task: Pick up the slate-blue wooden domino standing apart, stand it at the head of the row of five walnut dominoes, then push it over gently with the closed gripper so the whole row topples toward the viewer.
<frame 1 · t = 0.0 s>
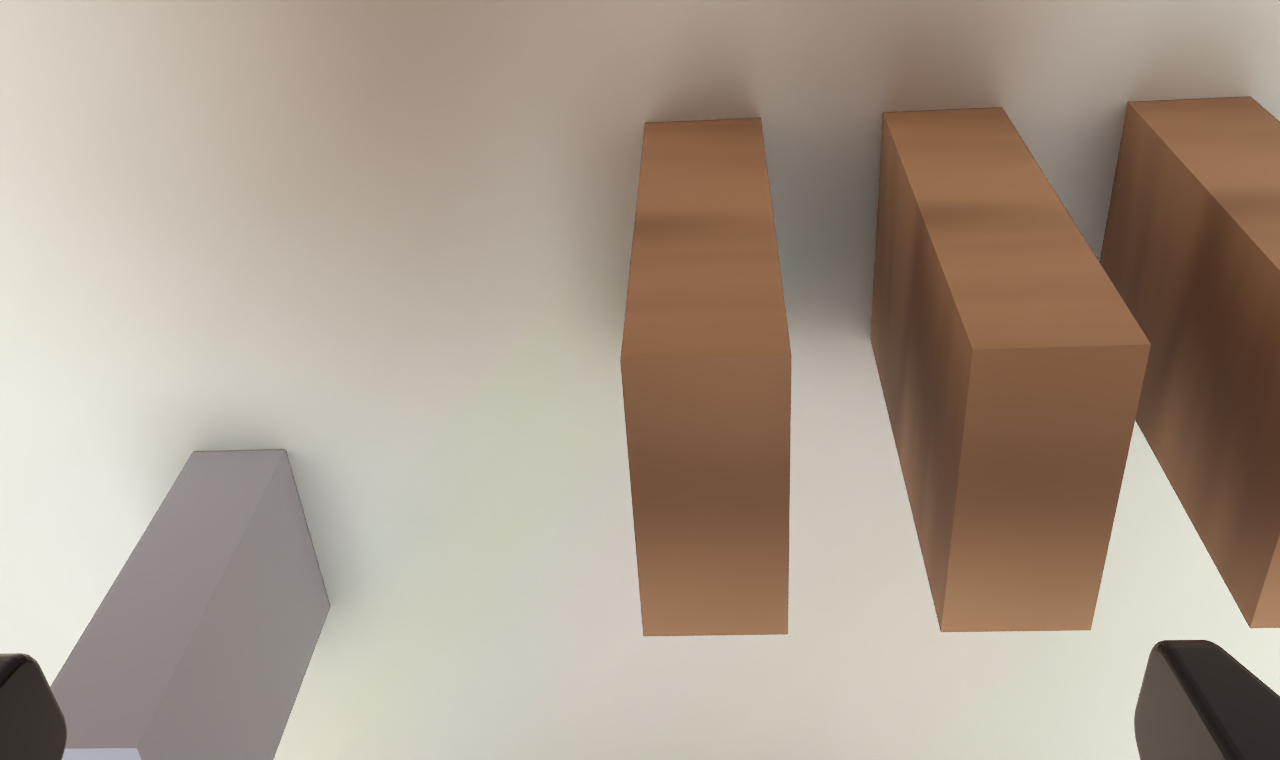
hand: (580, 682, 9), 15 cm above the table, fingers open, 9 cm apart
domino 2: (932, 230, 23), on the table
domino 3: (1163, 222, 23), on the table
slate domino: (264, 532, 28), on the table
domino 1: (706, 238, 23), on the table
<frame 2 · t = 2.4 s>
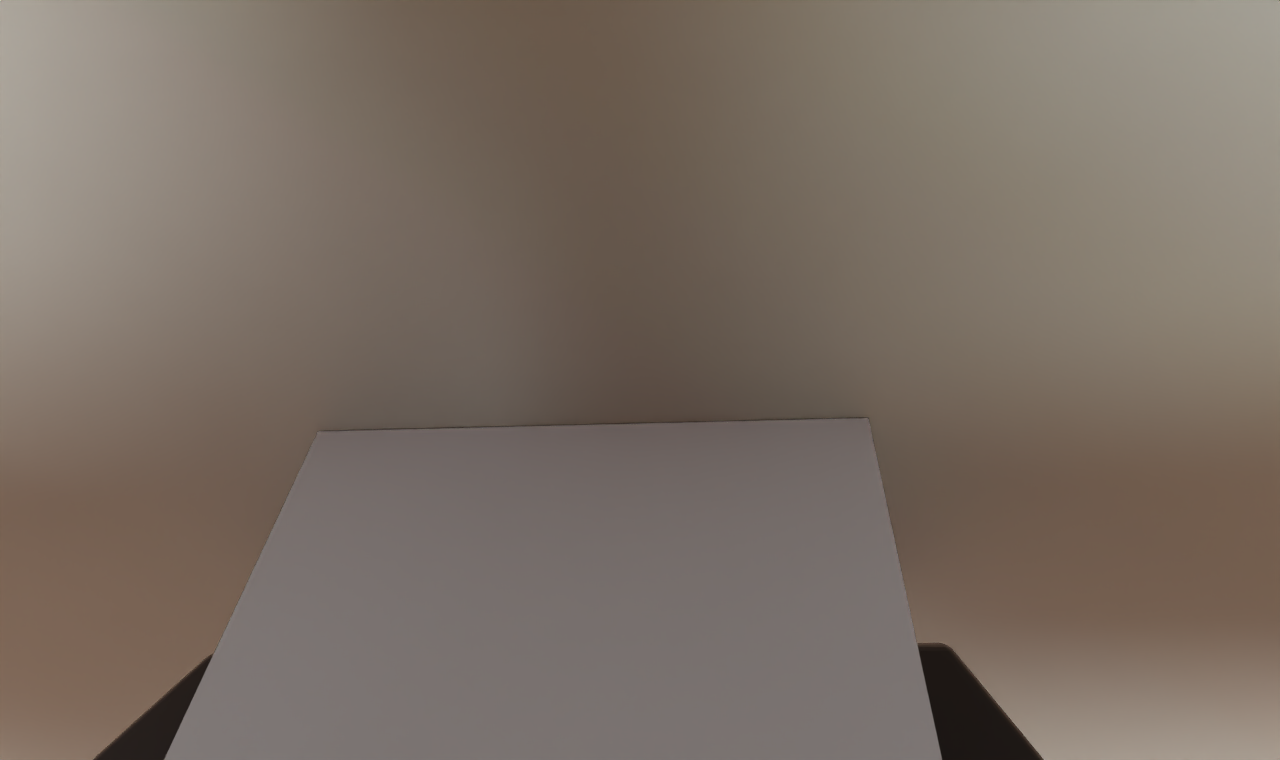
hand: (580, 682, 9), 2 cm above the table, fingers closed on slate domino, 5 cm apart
slate domino: (598, 518, 11), on the table, touching gripper
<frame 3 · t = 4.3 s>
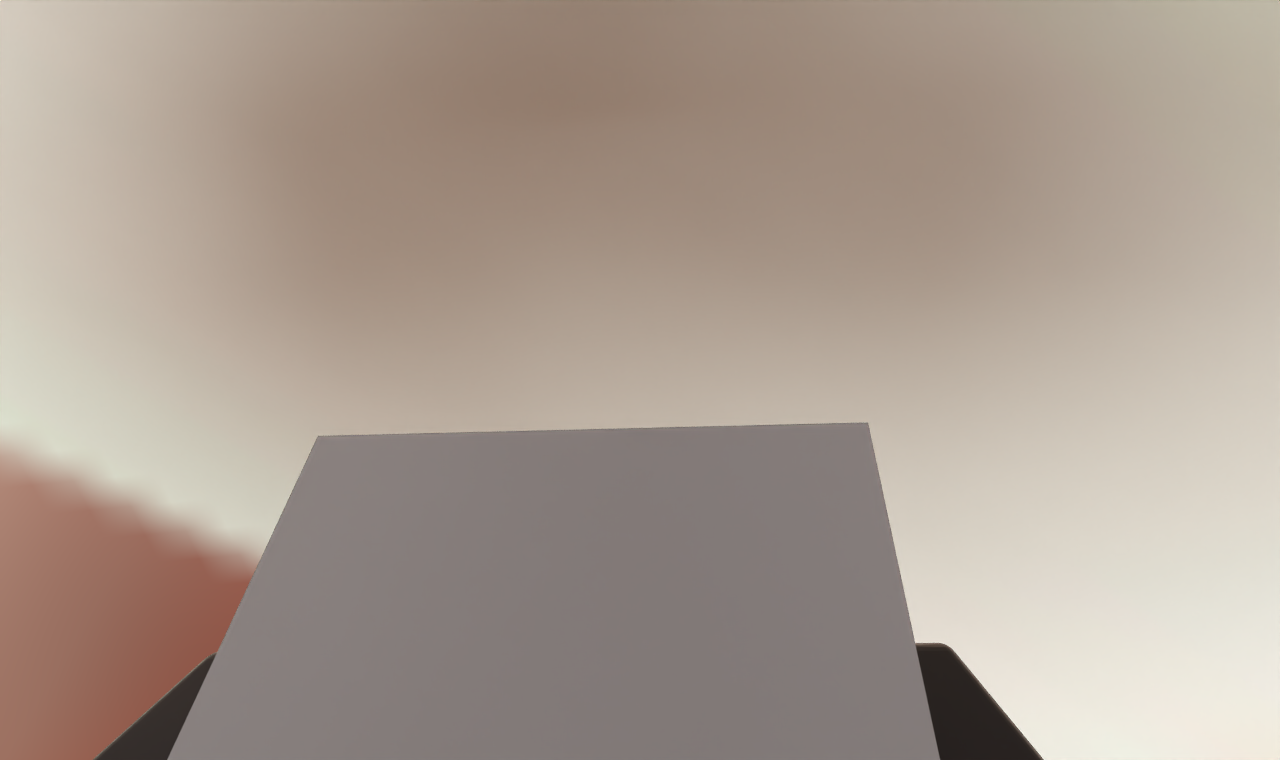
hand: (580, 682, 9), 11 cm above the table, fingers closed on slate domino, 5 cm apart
slate domino: (598, 522, 11), point 9 cm above the table, touching gripper
when the fingers open (2 cm above the table, at t = 6.2 s): slate domino stays where it is, on the table.
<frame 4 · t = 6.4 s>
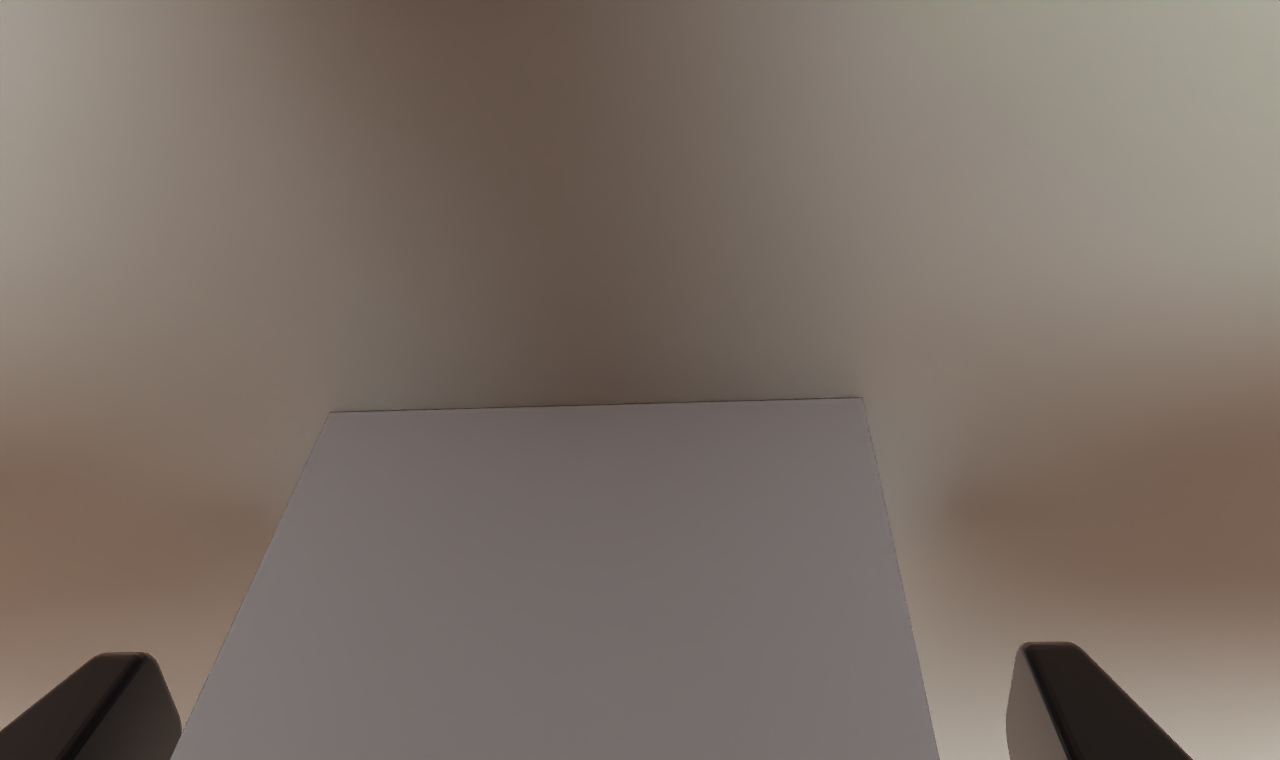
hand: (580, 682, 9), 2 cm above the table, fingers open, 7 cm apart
slate domino: (601, 497, 11), on the table
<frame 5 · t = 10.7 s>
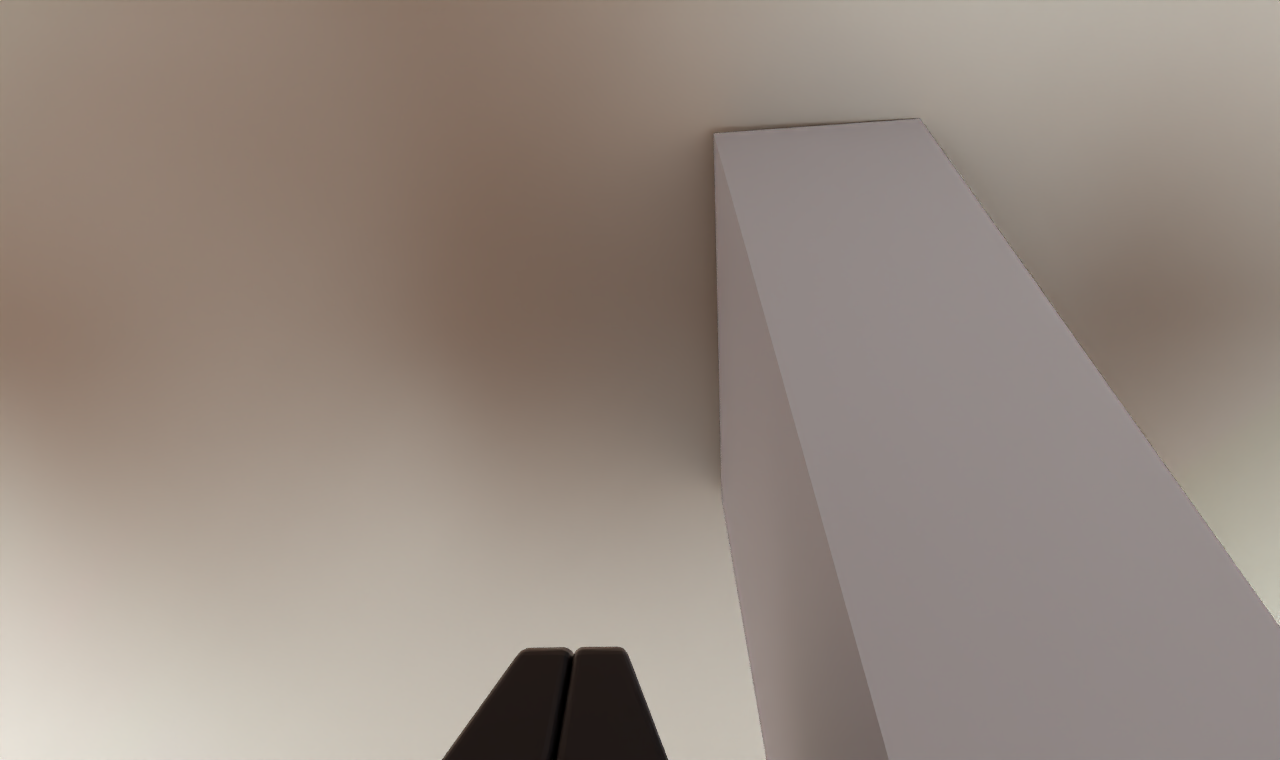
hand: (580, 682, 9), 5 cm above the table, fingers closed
slate domino: (810, 328, 14), on the table, tilted 5°
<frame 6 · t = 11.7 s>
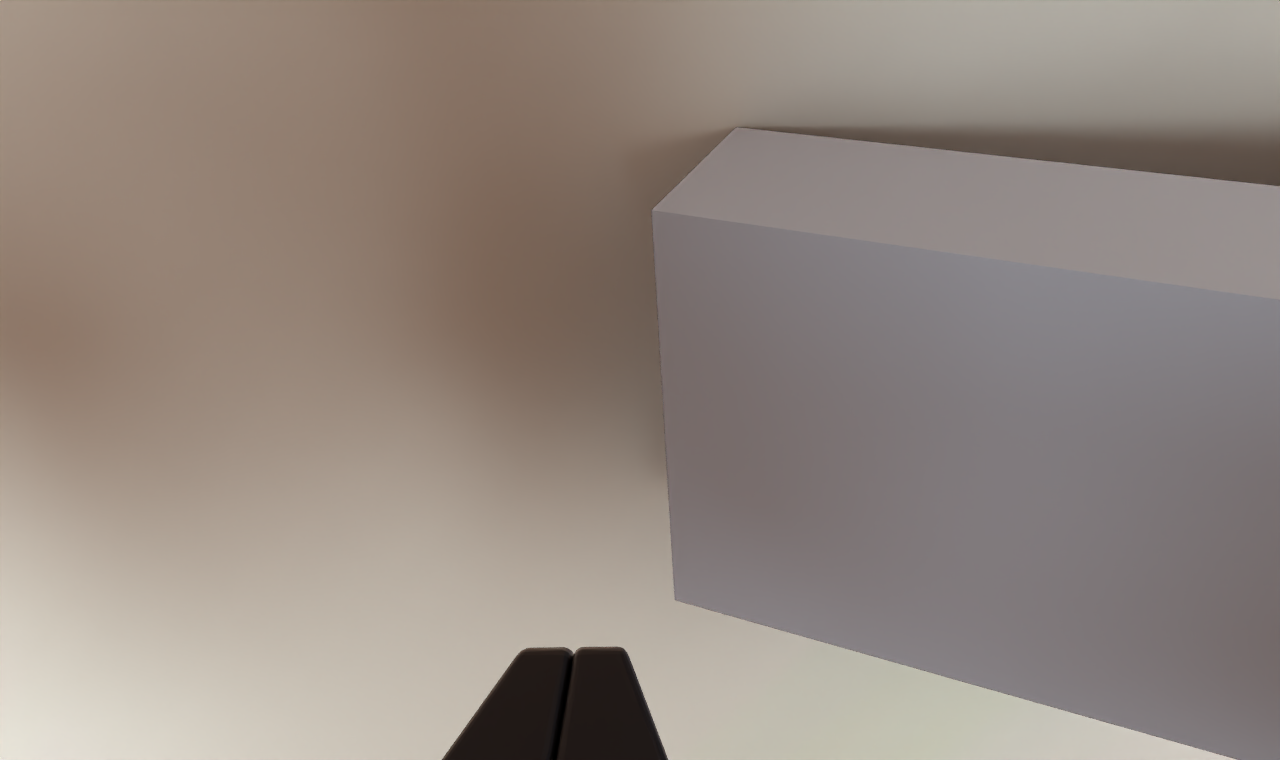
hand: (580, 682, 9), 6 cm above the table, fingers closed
slate domino: (704, 373, 13), point 1 cm above the table, tilted 67°, touching domino 1
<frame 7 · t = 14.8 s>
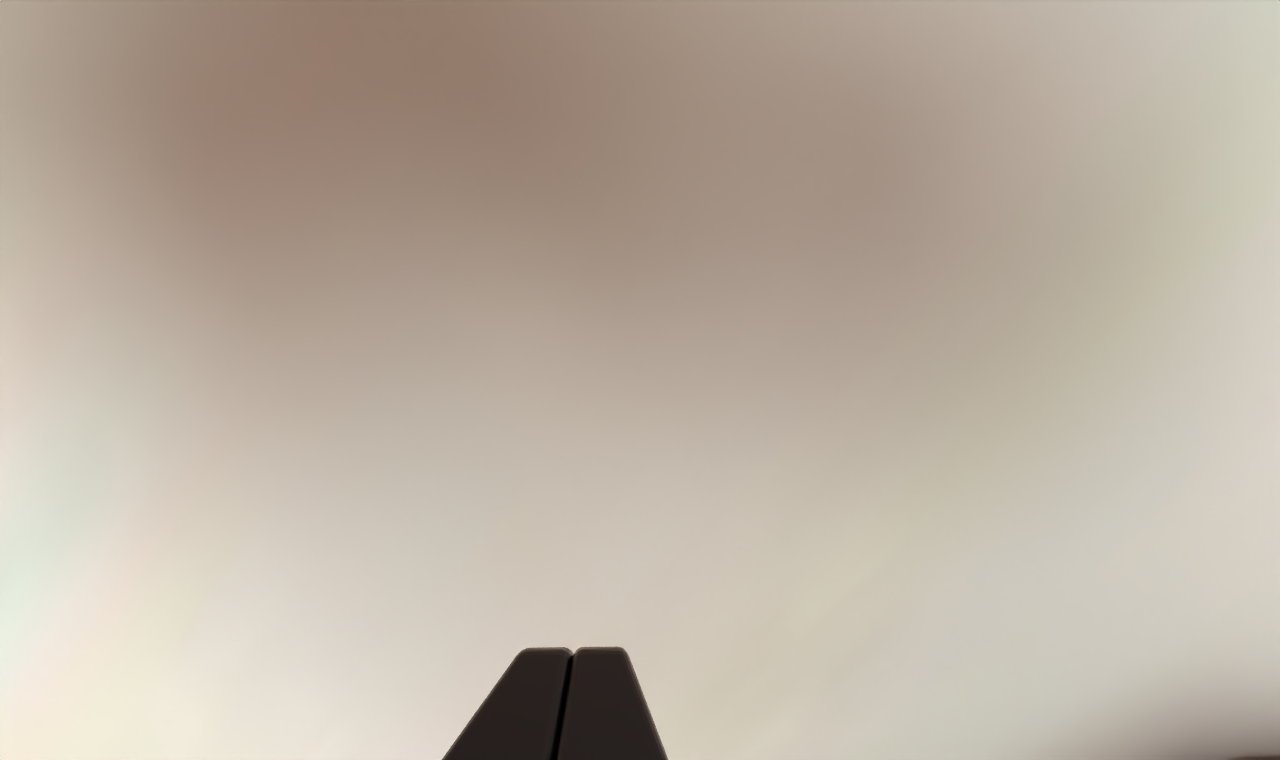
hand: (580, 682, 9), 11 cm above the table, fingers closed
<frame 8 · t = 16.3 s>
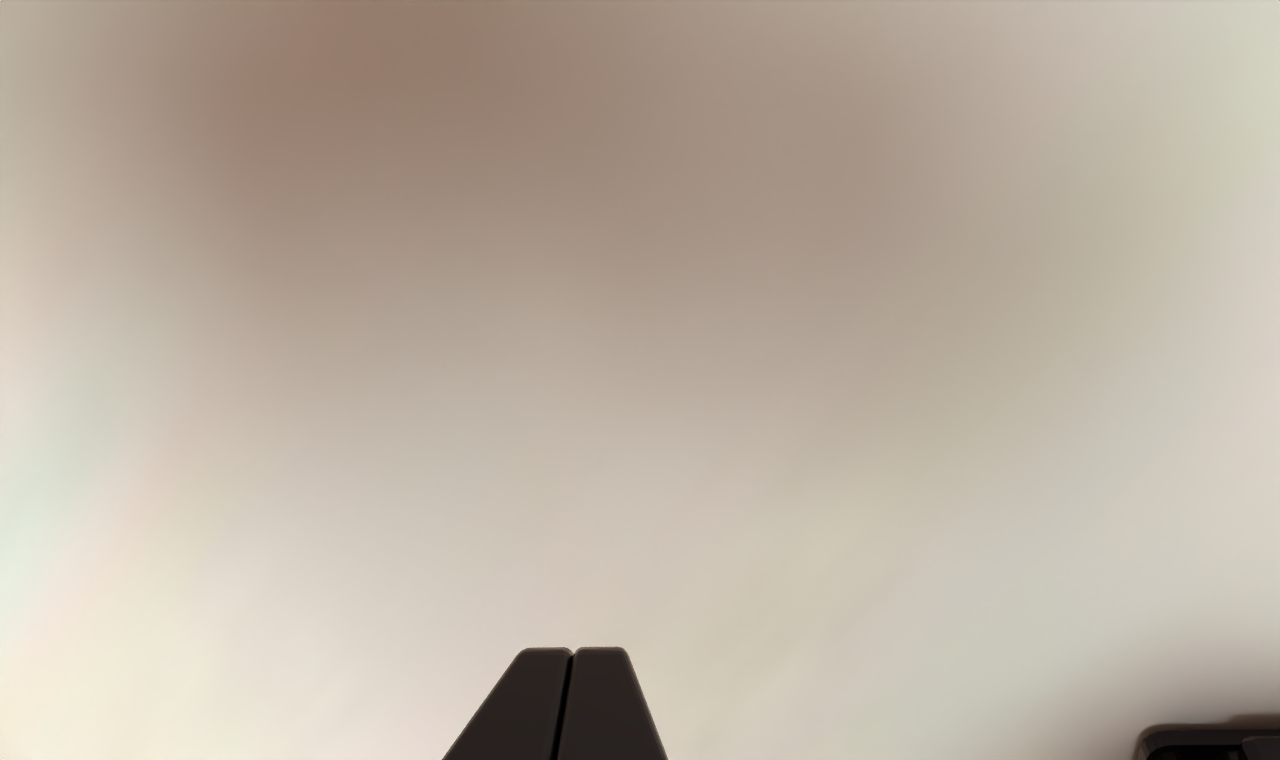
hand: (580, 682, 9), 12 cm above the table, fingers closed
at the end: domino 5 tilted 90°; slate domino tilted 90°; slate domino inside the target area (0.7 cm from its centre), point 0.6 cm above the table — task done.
